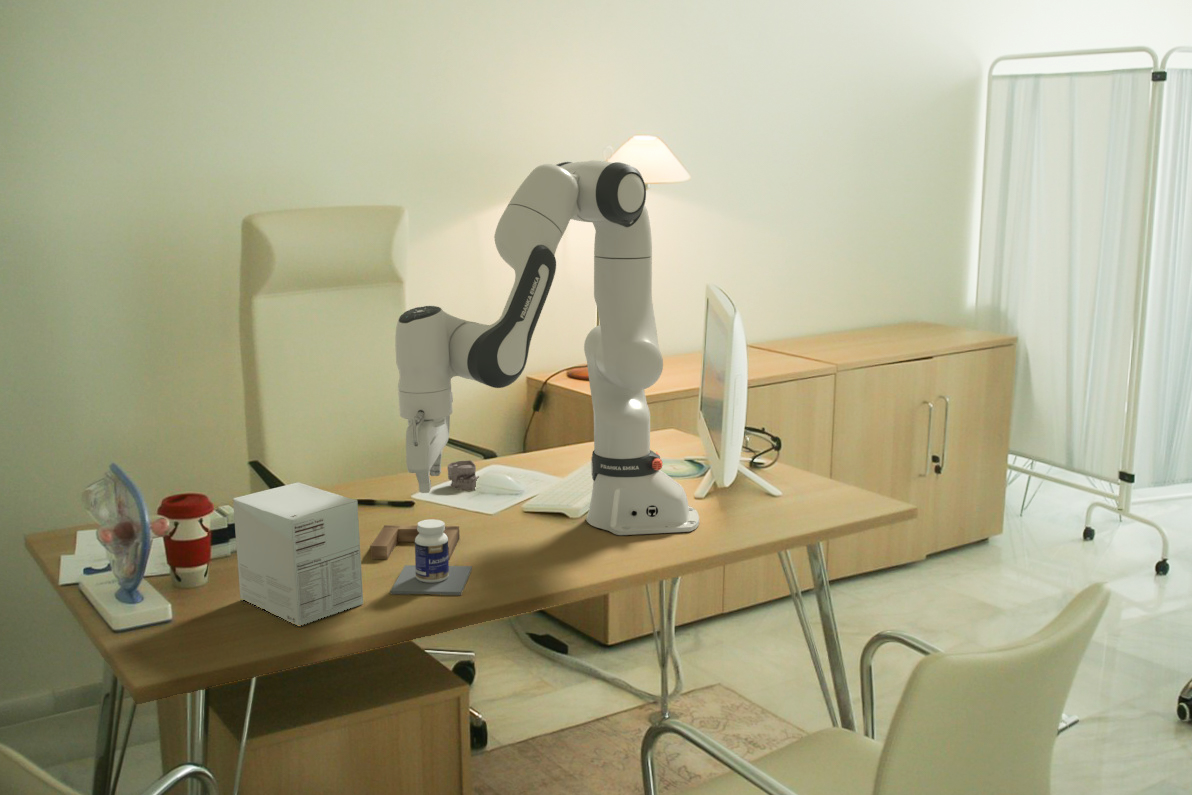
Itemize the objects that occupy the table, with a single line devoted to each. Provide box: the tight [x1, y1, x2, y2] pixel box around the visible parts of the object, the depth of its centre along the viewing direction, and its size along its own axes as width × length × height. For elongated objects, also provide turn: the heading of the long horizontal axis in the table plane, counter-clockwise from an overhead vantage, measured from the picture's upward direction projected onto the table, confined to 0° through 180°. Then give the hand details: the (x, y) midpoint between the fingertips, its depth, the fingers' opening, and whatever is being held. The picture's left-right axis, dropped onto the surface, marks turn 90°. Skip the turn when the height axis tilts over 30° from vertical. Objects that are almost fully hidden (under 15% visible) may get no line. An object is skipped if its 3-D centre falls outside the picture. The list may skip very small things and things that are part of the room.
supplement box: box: [232, 481, 364, 626], centre depth 195 cm, size 17×13×18 cm
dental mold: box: [447, 459, 480, 491], centre depth 260 cm, size 8×7×5 cm
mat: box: [390, 564, 473, 596], centre depth 206 cm, size 12×12×1 cm
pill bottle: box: [414, 518, 450, 583], centre depth 205 cm, size 6×6×10 cm
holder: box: [370, 524, 461, 561], centre depth 222 cm, size 14×12×2 cm
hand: (430, 483), depth 202 cm, fingers open, 8 cm apart
